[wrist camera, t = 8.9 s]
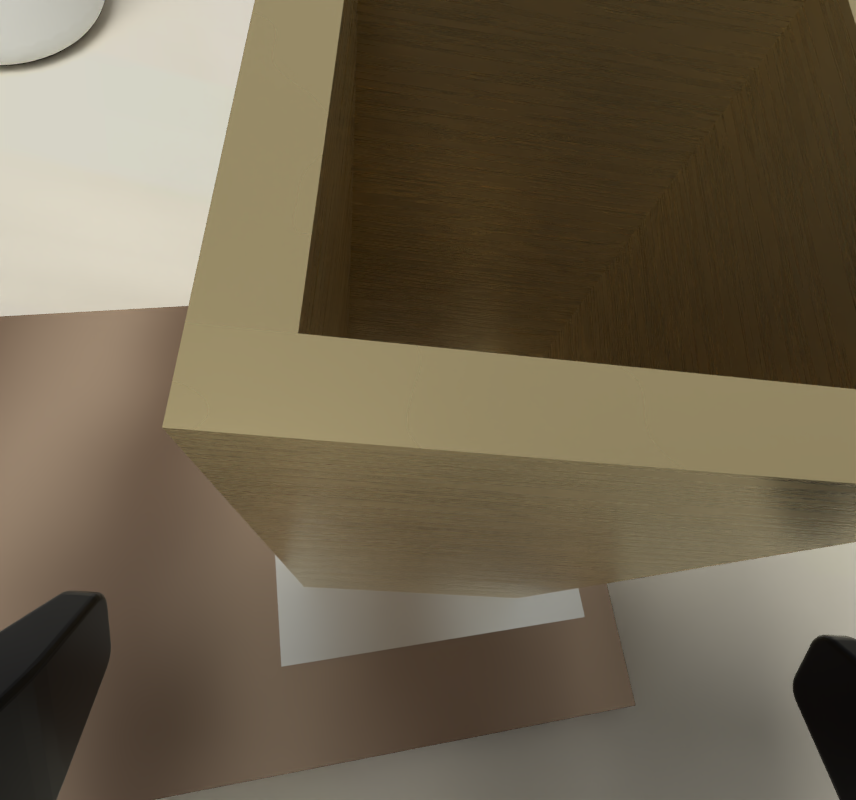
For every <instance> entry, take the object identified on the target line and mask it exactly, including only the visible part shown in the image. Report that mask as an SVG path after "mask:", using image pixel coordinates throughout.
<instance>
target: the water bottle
mask: <svg viewBox="0 0 856 800" xmlns="http://www.w3.org/2000/svg"><path fill="white" fill-rule="evenodd" d="M104 1H105V0H0V65H11V64H20V63H26V62H30V61H35V60H38V59H42V58H45V57H48V56H50V55H53V54H55V53H57V52H59V51H61V50H63V49H65V48H67V47H69V46H70V45H72V44H73V43H75V42H76V41H77V40H79V39H80V38H81V37H82V36H83V35H84V34H85V33H86V32H87V31H88V30H89V29H90V28H91V27H92V25H93V24H94V23H95V21H96V20H97V18H98V16H99V14H100V12H101V10H102V7H103V4H104Z"/></svg>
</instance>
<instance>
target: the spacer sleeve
mask: <svg viewBox="0 0 856 800" xmlns="http://www.w3.org/2000/svg"><path fill="white" fill-rule="evenodd" d="M162 428H163V429H164V430H165V431H166V433H167V434H168V435H169V436H170V437H171V438H172V439H173V440H174V441H175V443H176V444H177V445H178V446H179V447H180V448H181V449H182V450H183V452H184V453H185V454H186V455H187V456H188V457H189V458H190V459H191V461H192V462H193V463H194V464H195V465H196V466H197V467H198V468H199V470H200V471H201V472H202V473H203V474H204V475H205V476H206V477H207V479H208V480H209V481H210V482H211V483H212V484H213V485H214V486H215V488H216V489H217V490H218V491H219V492H220V493H221V494H222V495H223V497H224V498H225V499H226V500H227V501H228V502H229V503H230V504H231V506H232V507H233V508H234V509H235V510H236V511H237V512H238V513H239V514H240V516H241V517H242V518H243V519H244V520H245V521H246V522H247V523H248V525H249V526H250V527H251V528H252V529H253V530H254V531H255V532H256V534H257V535H258V536H259V537H260V538H261V539H262V540H263V541H264V543H265V544H266V545H267V546H268V547H269V548H270V549H271V550H272V552H273V553H274V554H275V555H276V556H277V557H278V558H279V559H280V561H281V562H282V563H283V564H284V565H285V566H286V567H287V568H288V570H289V571H290V572H291V573H292V574H293V575H294V576H295V577H296V578H297V580H298V581H299V582H300V583H301V584H302V585H303V586H304V587H317V588H336V589H355V590H373V591H392V592H411V593H430V594H449V595H468V596H487V597H505V598H522V597H528V596H534V595H540V594H546V593H552V592H558V591H564V590H570V589H576V588H582V587H588V586H594V585H600V584H606V583H612V582H618V581H624V580H630V579H636V578H642V577H648V576H654V575H660V574H666V573H672V572H678V571H684V570H690V569H696V568H702V567H708V566H714V565H720V564H726V563H732V562H738V561H744V560H750V559H756V558H762V557H768V556H774V555H780V554H786V553H792V552H798V551H804V550H810V549H816V548H822V547H828V546H834V545H840V544H846V543H852V542H856V0H255V3H254V7H253V12H252V16H251V21H250V26H249V30H248V35H247V39H246V44H245V49H244V53H243V58H242V62H241V67H240V72H239V76H238V81H237V85H236V90H235V95H234V99H233V104H232V108H231V113H230V118H229V122H228V127H227V131H226V136H225V141H224V145H223V150H222V154H221V159H220V164H219V168H218V173H217V177H216V182H215V187H214V191H213V196H212V200H211V205H210V210H209V214H208V219H207V223H206V228H205V233H204V237H203V242H202V246H201V251H200V256H199V260H198V265H197V269H196V274H195V279H194V283H193V288H192V292H191V297H190V302H189V306H188V311H187V315H186V320H185V325H184V329H183V334H182V338H181V343H180V348H179V352H178V357H177V361H176V366H175V371H174V375H173V380H172V384H171V389H170V394H169V398H168V403H167V407H166V412H165V417H164V421H163V426H162Z"/></svg>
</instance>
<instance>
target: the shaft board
mask: <svg viewBox="0 0 856 800" xmlns="http://www.w3.org/2000/svg"><path fill="white" fill-rule="evenodd" d="M187 311H188V306H181V307H163V308H145V309H128V310H110V311H92V312H74V313H56V314H39V315H21V316H3V317H0V631H1V630H3V629H5V628H6V627H8V626H9V625H11V624H12V623H14V622H16V621H17V620H19V619H20V618H22V617H24V616H25V615H27V614H28V613H30V612H32V611H33V610H35V609H36V608H38V607H39V606H41V605H43V604H44V603H46V602H47V601H49V600H51V599H52V598H54V597H55V596H57V595H59V594H61V593H63V592H65V591H71V590H74V591H91V592H100V593H102V594H103V595H104V596H105V598H106V601H107V607H108V618H109V628H110V639H111V653H110V659H109V663H108V666H107V669H106V672H105V674H104V677H103V680H102V682H101V685H100V687H99V690H98V693H97V695H96V698H95V701H94V703H93V706H92V709H91V711H90V714H89V716H88V719H87V722H86V724H85V727H84V730H83V732H82V735H81V738H80V740H79V743H78V745H77V748H76V751H75V753H74V756H73V759H72V761H71V764H70V767H69V769H68V772H67V774H66V777H65V780H64V782H63V785H62V787H61V790H60V792H59V795H58V797H57V800H155V799H160V798H165V797H170V796H175V795H180V794H185V793H190V792H195V791H201V790H206V789H211V788H216V787H221V786H226V785H231V784H236V783H241V782H247V781H252V780H257V779H262V778H267V777H272V776H277V775H282V774H287V773H293V772H298V771H303V770H308V769H313V768H318V767H323V766H328V765H333V764H338V763H344V762H349V761H354V760H359V759H364V758H369V757H374V756H379V755H384V754H390V753H395V752H400V751H405V750H410V749H415V748H420V747H425V746H430V745H436V744H441V743H446V742H451V741H456V740H461V739H466V738H471V737H476V736H482V735H487V734H492V733H497V732H502V731H507V730H512V729H517V728H522V727H528V726H533V725H538V724H543V723H548V722H553V721H558V720H563V719H568V718H574V717H579V716H584V715H589V714H594V713H599V712H604V711H609V710H614V709H620V708H625V707H630V706H635V701H634V697H633V693H632V688H631V684H630V680H629V676H628V672H627V667H626V663H625V659H624V655H623V651H622V646H621V642H620V638H619V634H618V629H617V625H616V621H615V617H614V613H613V608H612V604H611V600H610V596H609V592H608V587H607V583H606V584H600V585H594V586H588V587H582V588H576V589H570V590H564V591H558V592H552V593H546V594H540V595H534V596H528V597H522V598H505V597H487V596H468V595H449V594H430V593H411V592H392V591H373V590H355V589H336V588H317V587H304V586H303V585H302V584H301V583H300V582H299V581H298V580H297V578H296V577H295V576H294V575H293V574H292V573H291V572H290V571H289V570H288V568H287V567H286V566H285V565H284V564H283V563H282V562H281V561H280V559H279V558H278V557H277V556H276V555H275V554H274V553H273V552H272V550H271V549H270V548H269V547H268V546H267V545H266V544H265V543H264V541H263V540H262V539H261V538H260V537H259V536H258V535H257V534H256V532H255V531H254V530H253V529H252V528H251V527H250V526H249V525H248V523H247V522H246V521H245V520H244V519H243V518H242V517H241V516H240V514H239V513H238V512H237V511H236V510H235V509H234V508H233V507H232V506H231V504H230V503H229V502H228V501H227V500H226V499H225V498H224V497H223V495H222V494H221V493H220V492H219V491H218V490H217V489H216V488H215V486H214V485H213V484H212V483H211V482H210V481H209V480H208V479H207V477H206V476H205V475H204V474H203V473H202V472H201V471H200V470H199V468H198V467H197V466H196V465H195V464H194V463H193V462H192V461H191V459H190V458H189V457H188V456H187V455H186V454H185V453H184V452H183V450H182V449H181V448H180V447H179V446H178V445H177V444H176V443H175V441H174V440H173V439H172V438H171V437H170V436H169V435H168V434H167V433H166V431H165V430H164V429H163V428H162V426H163V421H164V417H165V412H166V407H167V403H168V398H169V394H170V389H171V384H172V380H173V375H174V371H175V366H176V361H177V357H178V352H179V348H180V343H181V338H182V334H183V329H184V325H185V320H186V315H187Z"/></svg>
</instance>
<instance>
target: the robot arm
mask: <svg viewBox="0 0 856 800" xmlns="http://www.w3.org/2000/svg"><path fill="white" fill-rule="evenodd" d="M110 653H111V639H110V628H109V618H108V607H107V601H106V598H105V596H104V595H103V594H102V593H100V592H91V591H74V590H71V591H65V592H63V593H61V594H59V595H57V596H55V597H54V598H52V599H51V600H49V601H47V602H46V603H44V604H43V605H41V606H39V607H38V608H36V609H35V610H33V611H32V612H30V613H28V614H27V615H25V616H24V617H22V618H20V619H19V620H17V621H16V622H14V623H12V624H11V625H9V626H8V627H6V628H5V629H3V630H1V631H0V800H57V797H58V795H59V792H60V790H61V787H62V785H63V782H64V780H65V777H66V774H67V772H68V769H69V767H70V764H71V761H72V759H73V756H74V753H75V751H76V748H77V745H78V743H79V740H80V738H81V735H82V732H83V730H84V727H85V724H86V722H87V719H88V716H89V714H90V711H91V709H92V706H93V703H94V701H95V698H96V695H97V693H98V690H99V687H100V685H101V682H102V680H103V677H104V674H105V672H106V669H107V666H108V663H109V659H110ZM793 693H794V697H795V700H796V702H797V705H798V707H799V709H800V711H801V714H802V716H803V718H804V720H805V723H806V725H807V727H808V729H809V732H810V734H811V736H812V738H813V741H814V743H815V745H816V747H817V750H818V752H819V754H820V756H821V759H822V761H823V763H824V765H825V768H826V770H827V772H828V774H829V777H830V779H831V781H832V783H833V786H834V788H835V790H836V793H837V795H838V797H839V799H840V800H856V639H854V638H851V637H847V636H834V635H821V636H818V637H817V638H815V639H814V640H813V642H812V643H811V645H810V647H809V649H808V651H807V653H806V655H805V657H804V659H803V661H802V663H801V665H800V667H799V669H798V671H797V673H796V675H795V677H794V680H793Z"/></svg>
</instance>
